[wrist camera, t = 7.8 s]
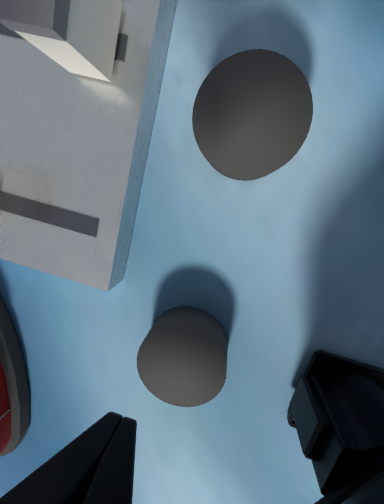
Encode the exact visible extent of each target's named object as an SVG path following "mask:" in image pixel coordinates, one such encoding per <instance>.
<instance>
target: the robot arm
mask: <svg viewBox="0 0 384 504" xmlns="http://www.w3.org/2000/svg"><path fill="white" fill-rule="evenodd" d="M320 357H324V359H323V360H318V359H319V358H320ZM290 406H291V408H290V410H289V413H288V415H287V419H288V423H289V425H290V426H292V427H294V428H296V429H297V433H298V436H299V440H300V444H301V447H302V451H303V454H304V455H305V457H306V458H308V459H311V460H312V464H313V467H314V470H315V474H316V477H317V481H318V484H319V488H320V491H321V493H322V495H324V497H322V498H321V499H320V500H318V501H317V502H316V503H314V504H384V369H380V368H377V367H374V366H371V365H367V364H364V363H361V362H357V361H354V360H351V359H348V358H344V357H341V356H338V355H334V354H331V353H328V352H325V351H316V352H315V353H314V354H313V356H312V359H311V361H310V363H309V366H308V368H307V370H306V373H305V375H303V376H302V377H301V378H300V380H299V382H298V385H297V387H296V390H295V392H294V394H293V397H292V399H291V401H290ZM293 419H294V420H293ZM136 428H137V422H136V420H134V419H131V418H128V417H123V416H122V415H120V414H117V413H114V412H109V413H107V414H106V415H105V416H103V417H102V418H101V419H99V420H98V421H97V422H96V423H94V424H93V425H92V426H91V427H89V428H88V429H87V430H86V431H84V432H83V433H82V434H81V435H79V436H78V437H77V438H76V439H74V440H73V441H72V442H71V443H69V444H68V445H67V446H65V447H64V448H63V449H62V450H60V451H59V452H58V453H57V454H55V455H54V456H53V457H52V458H50V459H49V460H48V461H47V462H45V463H44V464H43V465H42V466H40V467H39V468H38V469H36V470H35V471H34V472H33V473H31V474H30V475H29V476H28V477H26V478H25V479H24V480H23V481H21V482H20V483H19V484H18V485H16V486H15V487H14V488H13V489H11V490H10V491H9V492H7V493H6V494H5V495H4V496H2V497H1V498H0V504H132V495H133V478H134V461H135V444H136Z"/></svg>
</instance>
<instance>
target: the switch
mask: <svg viewBox="0 0 384 504" xmlns="http://www.w3.org/2000/svg"><path fill="white" fill-rule="evenodd" d="M121 10H122V2H121V1H120V0H0V23H1V24H3V25H4V26H5V27H7V28H8V29H9V30H14V31H15V32H16V33H18V34H19V35H20V36H22V37H23V38H24V39H26V40H27V41H28V42H30V43H31V44H32V45H34V46H35V47H37V48H38V49H39V50H41V51H42V52H43V53H45V54H46V55H47V56H49V57H50V58H51V59H53V60H54V61H55V62H57V63H58V64H59V65H61V66H62V67H63V68H65V69H66V70H68V71H69V72H70V73H74V74H79V75H83V76H87V77H92V78H96V79H101V80H105V81H109V82H111V77H112V71H113V64H114V57H115V51H116V44H117V37H118V31H119V24H120V17H121Z"/></svg>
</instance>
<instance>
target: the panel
mask: <svg viewBox="0 0 384 504" xmlns="http://www.w3.org/2000/svg"><path fill="white" fill-rule="evenodd" d="M120 1H121V2H122V10H121V17H120V24H119V31H118V37H117V44H116V51H115V57H114V64H113V71H112V77H111V82H109V81H105V80H101V79H96V78H92V77H87V76H83V75H79V74H74V73H70V72H69V71H68V70H66V69H65V68H63V67H62V66H61V65H59V64H58V63H57V62H55V61H54V60H53V59H51V58H50V57H49V56H47V55H46V54H45V53H43V52H42V51H41V50H39V49H38V48H37V47H35V46H34V45H32V44H31V43H30V42H28V41H27V40H26V39H24V38H23V37H22V36H20V35H19V34H18V33H16V32H15V31H14V30H9V29H8V28H7V27H5V26H4V25H3V24H1V23H0V258H1V259H4V260H7V261H11V262H14V263H17V264H20V265H24V266H27V267H30V268H33V269H37V270H40V271H43V272H46V273H50V274H53V275H56V276H59V277H63V278H66V279H69V280H72V281H76V282H79V283H82V284H85V285H89V286H92V287H95V288H99V289H102V290H105V291H109V290H110V289H112V288H113V287H114V286H116V285H117V284H118V283H119V282H121V281H122V280H123V278H124V273H125V268H126V263H127V258H128V252H129V247H130V242H131V237H132V232H133V226H134V221H135V216H136V211H137V206H138V201H139V195H140V190H141V185H142V180H143V175H144V169H145V164H146V159H147V154H148V149H149V144H150V138H151V133H152V128H153V123H154V118H155V113H156V107H157V102H158V97H159V92H160V87H161V81H162V76H163V71H164V66H165V61H166V56H167V50H168V45H169V40H170V35H171V30H172V24H173V19H174V14H175V9H176V4H177V0H120Z"/></svg>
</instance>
